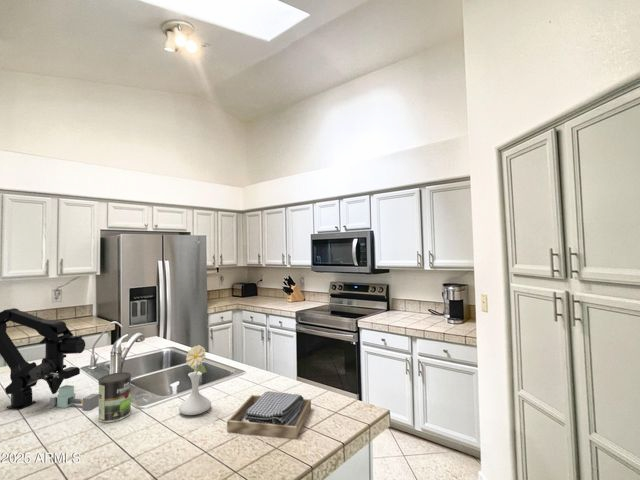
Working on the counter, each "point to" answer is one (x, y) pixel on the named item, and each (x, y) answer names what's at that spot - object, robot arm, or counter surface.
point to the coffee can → (114, 397)
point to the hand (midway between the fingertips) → (54, 393)
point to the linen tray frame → (262, 428)
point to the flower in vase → (195, 384)
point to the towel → (276, 409)
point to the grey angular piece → (79, 402)
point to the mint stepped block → (65, 396)
